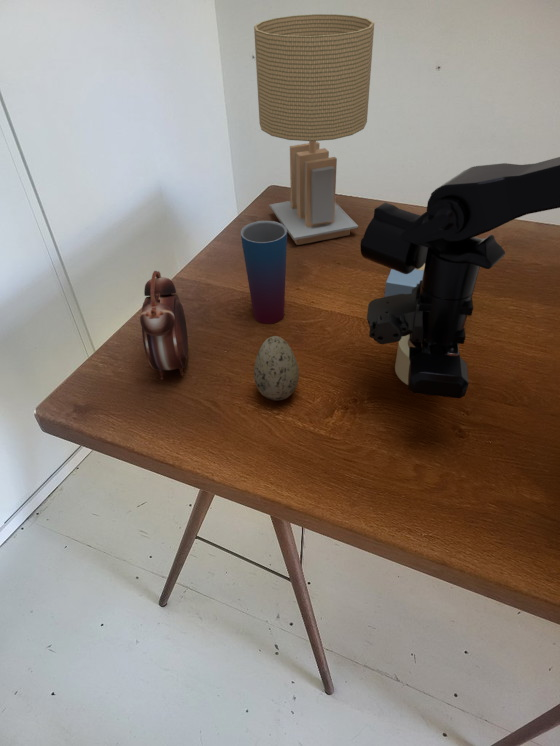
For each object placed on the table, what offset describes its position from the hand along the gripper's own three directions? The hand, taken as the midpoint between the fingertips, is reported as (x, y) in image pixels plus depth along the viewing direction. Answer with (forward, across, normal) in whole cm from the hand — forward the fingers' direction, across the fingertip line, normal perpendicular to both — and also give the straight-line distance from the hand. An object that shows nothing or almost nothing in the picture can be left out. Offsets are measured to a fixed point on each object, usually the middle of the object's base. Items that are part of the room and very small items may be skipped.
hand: (425, 386), depth 69 cm
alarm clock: (+3, -1, -36) cm, 36 cm away
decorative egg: (+3, +3, -20) cm, 20 cm away
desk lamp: (+2, -48, -22) cm, 53 cm away
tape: (+2, -6, 0) cm, 6 cm away
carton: (+2, -20, 0) cm, 21 cm away
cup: (+2, -16, -25) cm, 29 cm away
